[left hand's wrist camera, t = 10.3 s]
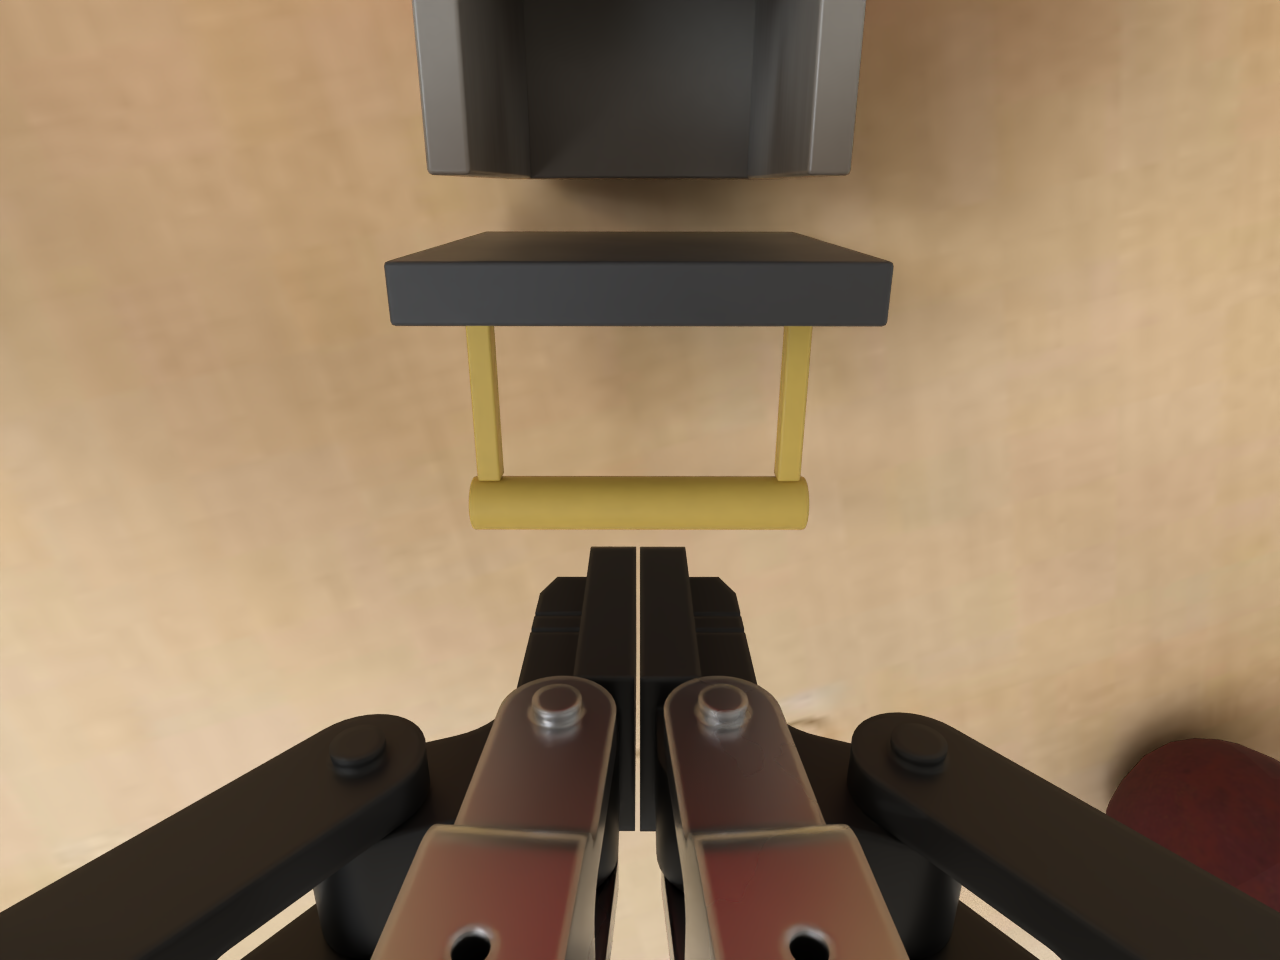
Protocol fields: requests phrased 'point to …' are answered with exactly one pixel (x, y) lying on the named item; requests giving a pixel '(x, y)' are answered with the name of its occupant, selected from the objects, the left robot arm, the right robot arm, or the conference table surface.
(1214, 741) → the dark red ball
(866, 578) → the conference table surface
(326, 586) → the conference table surface
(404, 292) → the drawer
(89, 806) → the conference table surface
